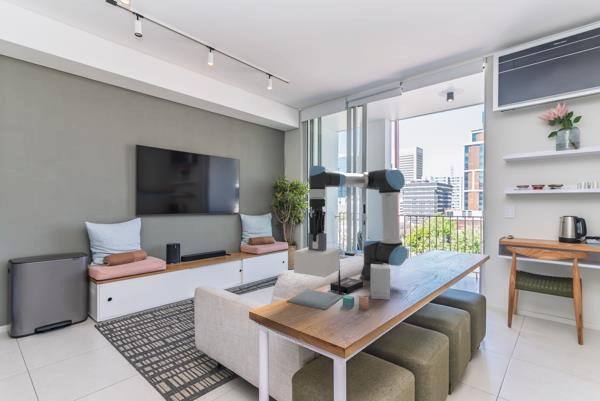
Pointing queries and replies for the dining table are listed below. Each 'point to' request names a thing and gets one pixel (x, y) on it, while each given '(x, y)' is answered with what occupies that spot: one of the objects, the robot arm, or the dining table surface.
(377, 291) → the supplement box
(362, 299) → the terracotta cylinder
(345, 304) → the teal cube
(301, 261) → the cover
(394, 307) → the dining table surface
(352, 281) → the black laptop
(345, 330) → the dining table surface
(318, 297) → the pad
